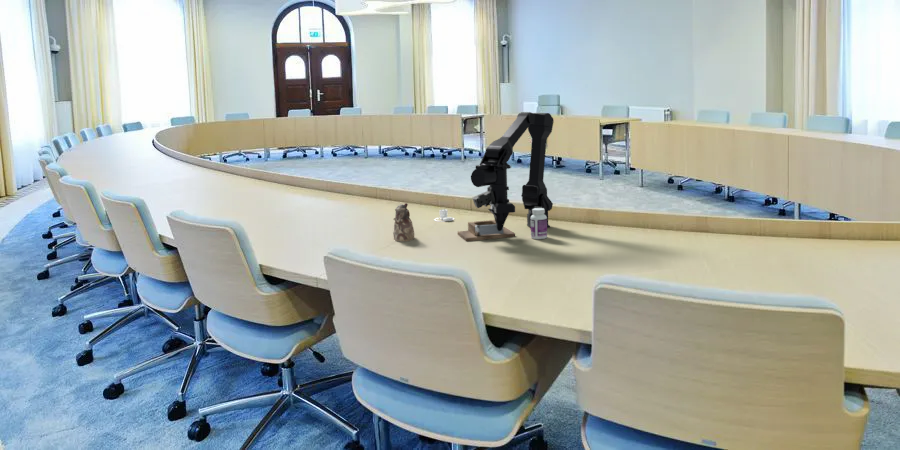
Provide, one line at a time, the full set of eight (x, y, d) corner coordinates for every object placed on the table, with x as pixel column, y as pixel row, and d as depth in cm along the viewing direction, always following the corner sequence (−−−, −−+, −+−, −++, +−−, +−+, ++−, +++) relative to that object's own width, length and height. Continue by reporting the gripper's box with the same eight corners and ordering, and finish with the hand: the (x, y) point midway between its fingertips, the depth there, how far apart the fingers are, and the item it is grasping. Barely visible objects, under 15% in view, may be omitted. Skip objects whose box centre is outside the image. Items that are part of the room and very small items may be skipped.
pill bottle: (548, 236, 228) (548, 207, 226) (545, 239, 224) (545, 210, 222) (532, 235, 230) (532, 207, 228) (529, 239, 225) (528, 210, 223)
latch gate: (502, 232, 230) (502, 223, 229) (503, 233, 228) (503, 224, 228) (475, 234, 229) (474, 225, 229) (475, 235, 228) (475, 226, 227)
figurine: (389, 239, 233) (386, 204, 231) (404, 235, 238) (402, 201, 236) (403, 242, 229) (401, 206, 226) (418, 238, 234) (416, 203, 231)
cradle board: (504, 229, 241) (504, 218, 240) (515, 236, 230) (514, 224, 229) (457, 234, 237) (457, 223, 236) (466, 241, 226) (465, 229, 225)
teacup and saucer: (454, 222, 258) (454, 212, 258) (433, 223, 259) (432, 212, 258) (454, 218, 267) (454, 207, 266) (434, 218, 267) (433, 208, 266)
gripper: (468, 182, 232) (469, 227, 235) (480, 188, 214) (481, 237, 217) (500, 180, 234) (501, 225, 237) (515, 186, 216) (516, 235, 218)
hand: (499, 230), depth 227 cm, fingers closed
